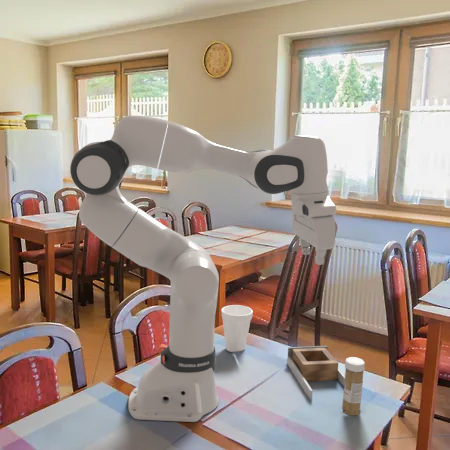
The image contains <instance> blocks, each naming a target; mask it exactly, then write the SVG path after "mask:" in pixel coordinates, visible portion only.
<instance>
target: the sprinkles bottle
mask: <svg viewBox="0 0 450 450" xmlns="http://www.w3.org/2000/svg"><path fill="white" fill-rule="evenodd" d="M365 365H366V363H365V361H364V359H362V358H359V357H356V356H355V357H354V356H350V357H346V358H345V361H344V367H345V368H344V369H345V371H344V372H345V375H344V376H345V381H344V386H343V392H342V397H343V399H342V409H343V410H342V412H343V413H344V414H346V415H348V416H359V415H360V414H361V403H362V394H363V383H364V371H365V367H366V366H365Z"/></svg>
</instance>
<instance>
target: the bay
mask: <svg viewBox="0 0 450 450" xmlns="http://www.w3.org/2000/svg"><path fill="white" fill-rule="evenodd" d="M328 347H329V346H328V345H316V346H313V345H312V346H291V347H290V346H288V347H287V361H286V364H287V366H288V367H289V369H290V371H291V372H292V375H293V376H294V377H295V379H296V381H298V384H299V385H300V386H301V388H302V389H303V391H304V392H305V395H306V396H307V397H308V399H309V400H311V401H312V400H313V391H314V390H313V388H312V387H311V385H310V384H309V383H308V382H307V381H306V380H305V378H304V377H303V375H302V374H301V372H300V371H299V369H298V368H297V366H296V365H295V363H294V362H293V360H292V349H304V348H326V349H327V350H328V351H329V349H328ZM337 380H338V382H339V383H340V384H341V385H342V387H344V381H345V375H344V373H343V372H342V370H340V368H339V367H338V375H337Z"/></svg>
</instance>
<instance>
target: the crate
mask: <svg viewBox="0 0 450 450" xmlns="http://www.w3.org/2000/svg"><path fill="white" fill-rule="evenodd" d="M292 360H293V362H294V363H295V365H296V366H297V368H298V369H299V371H300V372H301V374H302V375H303V377H304V378H305V380H306V381H307V383H308V382H323V381H337V380H338V379H337V375H338V368H339V362H338V361H337V359H336V358H334V356H333V355H332V354H331V353H330V351H329V349H328V350H327V349H326V348H304V349H292Z"/></svg>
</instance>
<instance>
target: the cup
mask: <svg viewBox="0 0 450 450" xmlns="http://www.w3.org/2000/svg"><path fill="white" fill-rule="evenodd" d="M220 310H221V318H222V326H223V333H224V343H225V350H226V351H228V352H230V353H235V352H242V351H244V350H246V347H247V342H248V336H249V330H250V324H251V320H252V318H253V315H254V314H253V313H254V311H253V309H252V308H250V307H249V306H246V305H241V304H231V305H226V306H223V307H222V308H221V309H220Z"/></svg>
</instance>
